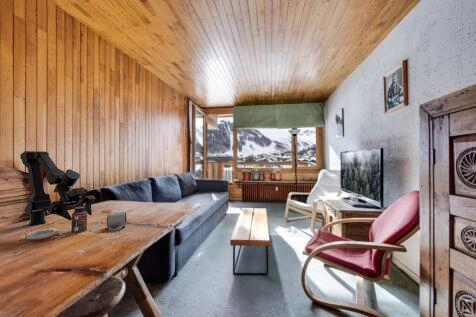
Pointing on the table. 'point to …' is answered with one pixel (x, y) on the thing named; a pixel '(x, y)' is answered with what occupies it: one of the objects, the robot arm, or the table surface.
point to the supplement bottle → (79, 220)
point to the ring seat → (41, 234)
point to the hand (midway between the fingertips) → (81, 217)
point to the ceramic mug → (116, 220)
